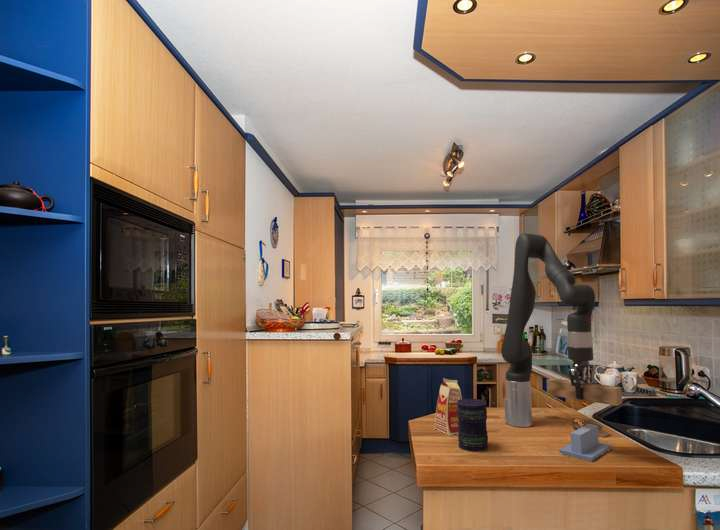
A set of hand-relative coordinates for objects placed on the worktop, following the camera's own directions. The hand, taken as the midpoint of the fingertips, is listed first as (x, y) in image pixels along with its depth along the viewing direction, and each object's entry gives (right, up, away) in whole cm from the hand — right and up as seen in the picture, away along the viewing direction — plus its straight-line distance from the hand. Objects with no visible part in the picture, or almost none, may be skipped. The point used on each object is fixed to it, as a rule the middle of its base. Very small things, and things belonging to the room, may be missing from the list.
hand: (582, 397), depth 146 cm
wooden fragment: (+14, -19, +24) cm, 34 cm away
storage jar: (-35, -18, +5) cm, 39 cm away
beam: (0, 0, 0) cm, 0 cm away
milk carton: (-39, -20, +23) cm, 49 cm away
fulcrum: (0, -17, -1) cm, 17 cm away
